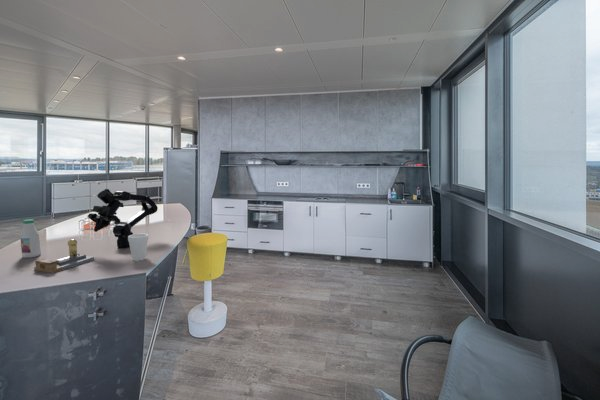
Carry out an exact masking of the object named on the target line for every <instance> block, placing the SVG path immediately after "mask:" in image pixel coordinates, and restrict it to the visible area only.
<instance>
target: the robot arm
mask: <svg viewBox="0 0 600 400" xmlns="http://www.w3.org/2000/svg"><path fill="white" fill-rule="evenodd" d="M97 198H98V199H99V200H101V202H103V203H104V204H105V205H102V206H99V205H93V208H92V212H93V213H92V212H91V213H90V212H89V213H88V215H87V218H89V219H90V220H91V221H92V222H93V223H95V225H94V228H93V232H95V233H97V232H98V231H100V230H102V229H103V228H106V227H108V226H111V222H114V226H113V228H112V233H113V234H114V237H115V238H117V239H116V245H117V246H116V247H117V249H125V248H130V245H129V241H128V236H129V235H132V234H134V232H133V231H131V230H132V228H133V227H134V226H135V225H137V224H138V223H139V222H141V221H142V220H143V219H145V218H146V217H147V216H151V215H153V214H155V213H157V211H158V210H159V209H158V205H157V203H156V202H155V201H154V200H152V199H151V197H150V196H149V195H146V194H145V195H143V194H142V195H141V194H133V193H130V192H129V191H124V190H115V191H114V192H113V193H112V192H111V190H110V189H109V188H105V189H103V190H101V191H100V192H98V194H97ZM123 201H124V202H126V201H137V202H138V201H139V202H141V210H140V211H138V212H137V213H135V214H134V215H133V216H132V217H130V218H129V219H127V220H126V221H121V219H120V218H119V217H118V216H116V215H117V211H118V210H119V208H124V207H125V206H124V202H123Z"/></svg>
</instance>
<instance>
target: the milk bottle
mask: <svg viewBox="0 0 600 400" xmlns="http://www.w3.org/2000/svg"><path fill="white" fill-rule="evenodd" d="M22 225H23V228H22V230H21V233H20V247H21V249H20V250H21V256H22V258H23V259H28V258H35V257H36V258H37V257H39V256H41V254H42V251H41V240H40V232H39V231H38V230H37V228H36V226H35V219H32V218H31V219H30V218H29V219H24V220H22Z"/></svg>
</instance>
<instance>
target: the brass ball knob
mask: <svg viewBox="0 0 600 400" xmlns="http://www.w3.org/2000/svg"><path fill="white" fill-rule="evenodd" d="M77 245H78V241H77V240H76V239H73V238H72V239H69V240H68V241H67V246H68V254H69V255H68V256H66V257H65V258H64V257H61V258H58V260H57V259H55V260H56V262H57V263H59V262H61V261H64V260H68V259H71V258H74V257H78V255H77V254H78V247H77Z"/></svg>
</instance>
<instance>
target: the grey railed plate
mask: <svg viewBox="0 0 600 400" xmlns="http://www.w3.org/2000/svg"><path fill="white" fill-rule="evenodd" d="M77 255H78V257H74V258H71V259H68V260H64V261H61V262H59V263H57V262H56V260H58V259H59V258H58V259H55V260H52V259H46V258H40V259H36V260H35V266H34V267H33V270H34V271H38V272H43V273H49V274H54V273H58V272H61V271H63V270H67V269H70V268H73V267H76V266H80V265H83V264H85V263H89V262H92V261H95V257H94V256H90V255H87V254H80V253H77ZM63 258H65V257H63Z"/></svg>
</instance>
